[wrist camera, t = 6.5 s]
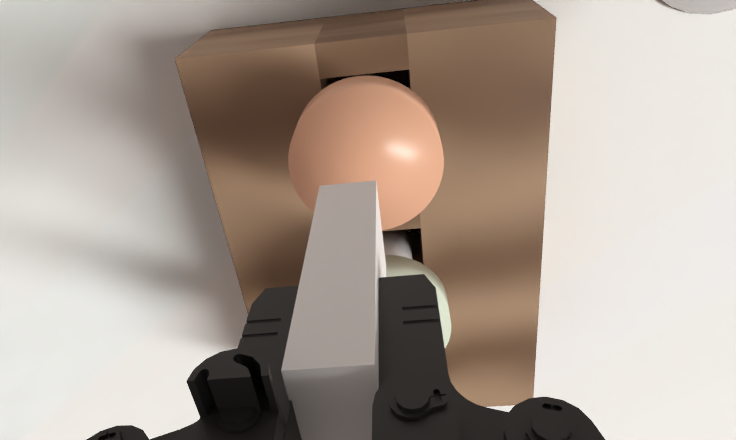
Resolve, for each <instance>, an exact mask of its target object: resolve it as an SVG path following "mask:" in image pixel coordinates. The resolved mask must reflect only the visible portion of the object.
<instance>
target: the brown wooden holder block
mask: <svg viewBox="0 0 736 440" xmlns="http://www.w3.org/2000/svg"><path fill="white" fill-rule="evenodd" d="M555 30H556V17H555V16H554V15H552V14H551V13H549V12H548V11H547V10H545V9H544V8H542V7H541V6H540V5H538V4H537V3H536V2H534V1H533V0H477V1H468V2H459V3H450V4H441V5H432V6H423V7H414V8H406V9H397V10H388V11H379V12H370V13H361V14H352V15H343V16H335V17H326V18H317V19H308V20H299V21H290V22H281V23H272V24H264V25H255V26H246V27H237V28H228V29H219V30H211V31H210V32H208V33H207V34H206V35H205V36H203V37H202V38H201V39H199V40H198V41H197V42H196V43H194V44H193V45H192V46H191V47H189V48H188V49H187V50H186V51H184V52H183V53H182V54H180V55H179V56H178V57H177V58H175V62H176V65H177V69H178V72H179V76H180V79H181V83H182V86H183V90H184V93H185V97H186V100H187V104H188V107H189V111H190V114H191V117H192V121H193V124H194V128H195V131H196V135H197V138H198V142H199V145H200V149H201V152H202V156H203V159H204V162H205V166H206V169H207V173H208V176H209V180H210V183H211V187H212V190H213V194H214V197H215V201H216V204H217V208H218V211H219V214H220V218H221V221H222V225H223V228H224V232H225V235H226V239H227V242H228V246H229V249H230V253H231V256H232V259H233V263H234V266H235V270H236V273H237V277H238V280H239V284H240V287H241V291H242V294H243V298H244V301H245V304H246V308H247V311H248V315H249V311H250V308H251V305H252V303H253V302H254V301H255V300H256V299H257V297H258V296H259V295H260V294H261V293H262V292H263V291H264V290H265V288H275V287H288V286H299V282H300V278H301V273H302V268H303V263H304V258H305V253H306V249H307V244H308V239H309V234H310V229H311V225H312V220H313V215H314V213H313V212H312V211H311V210H310V209H309V208H308V207H307V206H306V205H305V204H304V202H303V201H302V200H301V199H300V197H299V195H298V194H297V192H296V190H295V188H294V186H293V183H292V180H291V177H290V173H289V166H288V154H289V147H290V143H291V140H292V137H293V134H294V131H295V129H296V126H297V123H298V121H299V118H300V116H301V114H302V112H303V110H304V109H305V107H306V106H307V104H308V103H309V102H310V101H311V99H312V98H313V97H314V96H315V95H316V94H318V93H319V92H320V91H321V90H322V89H324V88H326V87H327V86H329V85H330V84H333V83H335V82H336V80H335V77H342V76H351V75H361V74H371V73H380V72H390V71H399V70H407V71H408V85H409V89H411V90H412V91H413V92H415V93H416V94H417V95H418V96H419V97H420V98H421V99H422V100H423V101H424V102H425V104H426V105H427V106H428V107H429V109H430V111H431V112H432V114H433V116H434V119H435V121H436V123H437V127H438V131H439V135H440V139H441V144H442V148H443V155H444V169H443V175H442V179H441V183H440V186H439V188H438V190H437V192H436V194H435V196H434V197H433V199H432V200H431V202H430V203H429V204H428V205H427V206H426V208H425V209H424V210H423V211H421V212H420V213H419V214H418V215H417V216H415V217H414V218H413V219H411V220H410V221H408V222H406V223H404V224H402V225H400V226H397V227H394V228H391V229H387V230H383V231H392V230H404V229H417V228H419V232H420V233H411V234H409V235H410V239H411V250H412V259H413V260H415V261H417V262H420V263H422V264H423V265H425V266H426V267H428V268H429V269H430V270H432V271H433V272H434V273H435V274H436V275H437V276H438V278H439V279H440V281H441V282H442V284H443V286H444V288H445V291H446V294H447V300H448V306H449V313H450V319H451V335H450V339H449V342H448V344H447V346H446V348H445V354H446V361H447V367H448V374H449V377H450V380H451V383H452V384H453V386H454V387H455V389H456V390H457V391H458V392H459V393H460V394H461V395H462V396H463V397H464V398H466V399H467V400H469V401H471V402H473V403H475V404H477V405H480V406H483V407H488V406H506V405H516V404H518V403H520V402H522V401H525V400H527V399H529V398H533V392H534V376H535V359H536V343H537V326H538V310H539V293H540V277H541V260H542V244H543V228H544V211H545V195H546V178H547V162H548V145H549V129H550V112H551V96H552V80H553V63H554V47H555Z"/></svg>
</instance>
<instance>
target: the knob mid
mask: <svg viewBox="0 0 736 440" xmlns="http://www.w3.org/2000/svg"><path fill="white" fill-rule="evenodd" d="M382 234H383V243H384V252H385V260H386V277H393V276H405V275H418V274H425V276H426V277H427V278H428V279H429V280H430V282H431V283H432V284H433V285H434V286H435V287H436V293H437V300H438V307H439V313H440V321H441V327H442V334H443V340H444V347H445V348H446V346H447V344H448V342H449V339H450V335H451V319H450V313H449V306H448V300H447V294H446V291H445V288H444V286H443V284H442V282H441V281H440V279H439V278H438V276H437V275H436V274H435V273H434V272H433V271H432V270H430V269H429V268H428V267H426V266H425V265H423V264H422V263H420V262H417V261H415V260H413V259H412V250H411V239H410V235H409V233H408V232H407V230H406V229H404V230H392V231H382Z"/></svg>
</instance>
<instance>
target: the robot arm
mask: <svg viewBox="0 0 736 440" xmlns="http://www.w3.org/2000/svg"><path fill="white" fill-rule="evenodd" d="M187 384H188V386H189V389H190V391H191V394H192V397H193V399H194V402H195V404H196V407H197V409H198V412H199V415H200V419H199V420H198V421H197V422H195V423H194V424H192V425H189V426H187V427H185V428H182V429H180V430H177V431H174V432H171V433H168V434H165V435H162V436H159V437H156V438H153V439H150V440H605V439H604V437H603V436H602V435H601V433H600V432H599V430H598V429H597V428H596V426H595V425H594V424H593V422H592V421H591V420H590V419H589V418H588V417H587V416H586V415H585V414H584V413H583V412H582V411H581V410H580V409H579V408H577V407H575V406H573V405H571V404H569V403H567V402H565V401H563V400H559V399H554V398H549V397H538V398H529V399H527V400H525V401H522V402H520V403H518V404H516V405H515V406H514V407H513V408H512V410H511V411H510V412H504V411H500V410H495V409H490V408H486V407H483V406H480V405H477V404H475V403H473V402H471V401H469V400H467V399H466V398H464V397H463V396H462V395H461V394H460V393H459V392H458V391H457V390H456V389H455V387H454V386H453V384H452V383H451V380H450V377H449V374H448V367H447V361H446V354H445V347H444V340H443V334H442V327H441V321H440V313H439V307H438V300H437V293H436V287H435V286H434V285H433V284H432V283H431V282H430V280H429V279H428V278H427V277H426V276H425V274H418V275H405V276H393V277H386V260H385V252H384V243H383V234H382V226H381V217H380V209H379V200H378V191H377V183H376V180H375V181H364V182H353V183H343V184H332V185H321V186H319V191H318V196H317V201H316V205H315V210H314V215H313V220H312V225H311V229H310V234H309V239H308V244H307V249H306V253H305V258H304V263H303V268H302V273H301V278H300V282H299V286H288V287H275V288H265V290H264V291H263V292H262V293H261V294H260V295H259V296H258V297H257V299H256V300H255V301H254V302H253V303H252V305H251V308H250V311H249V315H248V318H247V324H245V327H244V330H243V334H242V338H241V340H240V343H239V346H238V349H232V350H228V351H223V352H220V353H218V354H216V355H214V356H212V357H209V358H207V359H206V360H205V361H203V362H202V363H201V364H200V365H199V366H197V367H196V368H195V369H194V370H193V372H192V373H191V375H190V377H189V378H188V380H187ZM87 440H149V439H148V437H147V436H146V434H145V433H144V431H143V430H141V429H139V428H137V427H134V426H132V425H130V426H115V427H112V428H109V429H106V430H103V431H100V432H99V433H97V434H95V435H94V436H92V437H90V438H89V439H87Z"/></svg>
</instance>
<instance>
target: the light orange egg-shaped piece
mask: <svg viewBox="0 0 736 440" xmlns="http://www.w3.org/2000/svg"><path fill="white" fill-rule="evenodd" d="M288 166H289V173H290V177H291V180H292V183H293V186H294V188H295V190H296V192H297V194H298V195H299V197H300V199H301V200H302V201H303V202H304V204H305V205H306V206H307V207H308V208H309V209H310V210H311V211H312V212H313V213H314V210H315V205H316V201H317V196H318V191H319V186H321V185H332V184H343V183H353V182H364V181H375V180H376V183H377V191H378V200H379V209H380V217H381V226H382V231H383V230H387V229H391V228H394V227H397V226H400V225H402V224H404V223H406V222H408V221H410V220H411V219H413V218H414V217H415V216H417V215H418V214H419V213H420V212H421V211H423V210H424V209H425V208H426V206H427V205H428V204H429V203H430V202H431V200H432V199H433V197H434V196H435V194H436V192H437V190H438V188H439V186H440V183H441V179H442V175H443V169H444V155H443V148H442V144H441V139H440V135H439V131H438V127H437V123H436V121H435V119H434V116H433V114H432V112H431V111H430V109H429V107H428V106H427V105H426V104H425V102H424V101H423V100H422V99H421V98H420V97H419V96H418V95H417V94H416V93H415V92H413V91H412V90H411V89H409V88H408V87H406V86H404V85H402V84H401V83H399V82H396V81H393V80H391V79H388V78H383V77H381V76H378V75H372V74H367V75H362V76H355V77H349V78H346V79H342V80H339V81H337V82H335V83H333V84H330V85H329V86H327V87H326V88H324V89H322V90H321V91H320V92H319V93H318V94H316V95H315V96H314V97H313V98H312V99H311V101H310V102H309V103H308V104H307V106H306V107H305V109H304V110H303V112H302V114H301V116H300V118H299V121H298V123H297V126H296V129H295V131H294V134H293V137H292V140H291V143H290V147H289V154H288Z"/></svg>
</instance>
